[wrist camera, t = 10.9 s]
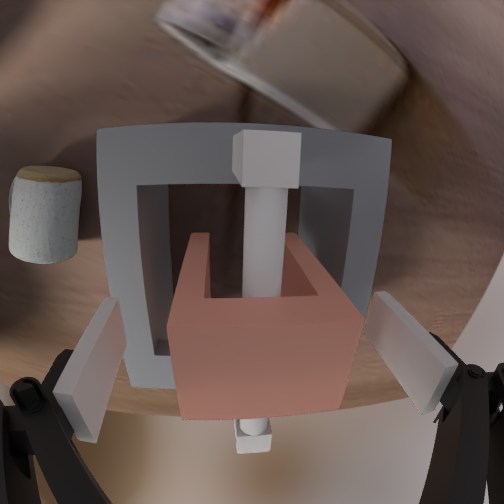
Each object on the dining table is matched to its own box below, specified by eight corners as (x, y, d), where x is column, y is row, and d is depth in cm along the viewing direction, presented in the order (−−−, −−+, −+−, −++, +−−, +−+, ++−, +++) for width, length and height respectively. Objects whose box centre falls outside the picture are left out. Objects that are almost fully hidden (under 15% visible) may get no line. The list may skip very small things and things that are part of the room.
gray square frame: (153, 311, 32) (115, 453, 15) (143, 133, 26) (35, 125, 8) (311, 309, 35) (379, 436, 17) (328, 138, 28) (464, 145, 11)
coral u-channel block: (194, 299, 22) (181, 419, 11) (191, 232, 20) (166, 326, 10) (289, 297, 22) (338, 408, 12) (295, 232, 21) (364, 318, 10)
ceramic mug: (95, 168, 27) (59, 177, 19) (88, 245, 29) (55, 274, 22) (18, 159, 25) (-25, 167, 18) (15, 228, 27) (-24, 250, 20)
